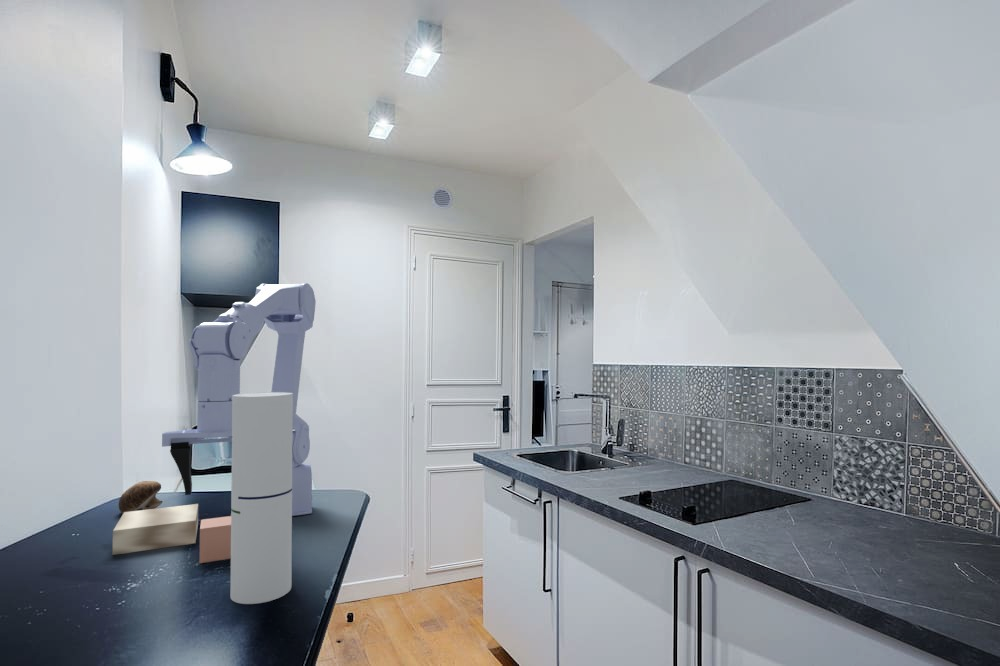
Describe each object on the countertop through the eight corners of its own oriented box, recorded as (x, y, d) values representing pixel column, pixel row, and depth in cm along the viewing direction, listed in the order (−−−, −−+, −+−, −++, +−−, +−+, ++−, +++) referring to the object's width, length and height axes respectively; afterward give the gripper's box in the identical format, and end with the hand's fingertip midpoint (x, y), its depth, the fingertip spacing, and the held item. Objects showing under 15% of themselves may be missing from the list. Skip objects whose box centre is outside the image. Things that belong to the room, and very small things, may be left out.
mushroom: (180, 489, 110) (158, 466, 108) (153, 516, 102) (129, 491, 101) (153, 506, 112) (131, 483, 110) (125, 532, 104) (101, 509, 103)
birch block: (197, 526, 98) (198, 503, 98) (195, 545, 88) (195, 520, 88) (123, 536, 93) (124, 512, 93) (112, 557, 83) (112, 530, 83)
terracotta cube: (237, 547, 86) (237, 515, 86) (237, 557, 82) (238, 523, 82) (200, 552, 84) (201, 519, 84) (199, 563, 80) (199, 528, 80)
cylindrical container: (269, 606, 66) (271, 396, 67) (217, 601, 67) (219, 396, 68) (302, 581, 73) (303, 392, 74) (254, 577, 74) (256, 392, 75)
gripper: (160, 404, 77) (158, 502, 76) (271, 400, 83) (270, 490, 83) (165, 401, 83) (164, 491, 83) (269, 397, 90) (268, 481, 89)
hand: (217, 490), depth 83 cm, fingers open, 7 cm apart
